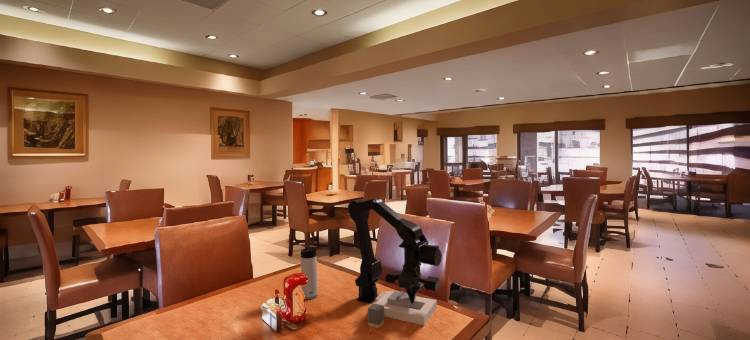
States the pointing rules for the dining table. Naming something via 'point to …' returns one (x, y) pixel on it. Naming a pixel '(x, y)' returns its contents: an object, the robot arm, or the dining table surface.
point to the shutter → (399, 299)
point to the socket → (408, 309)
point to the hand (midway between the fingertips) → (412, 303)
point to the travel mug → (309, 272)
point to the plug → (376, 315)
